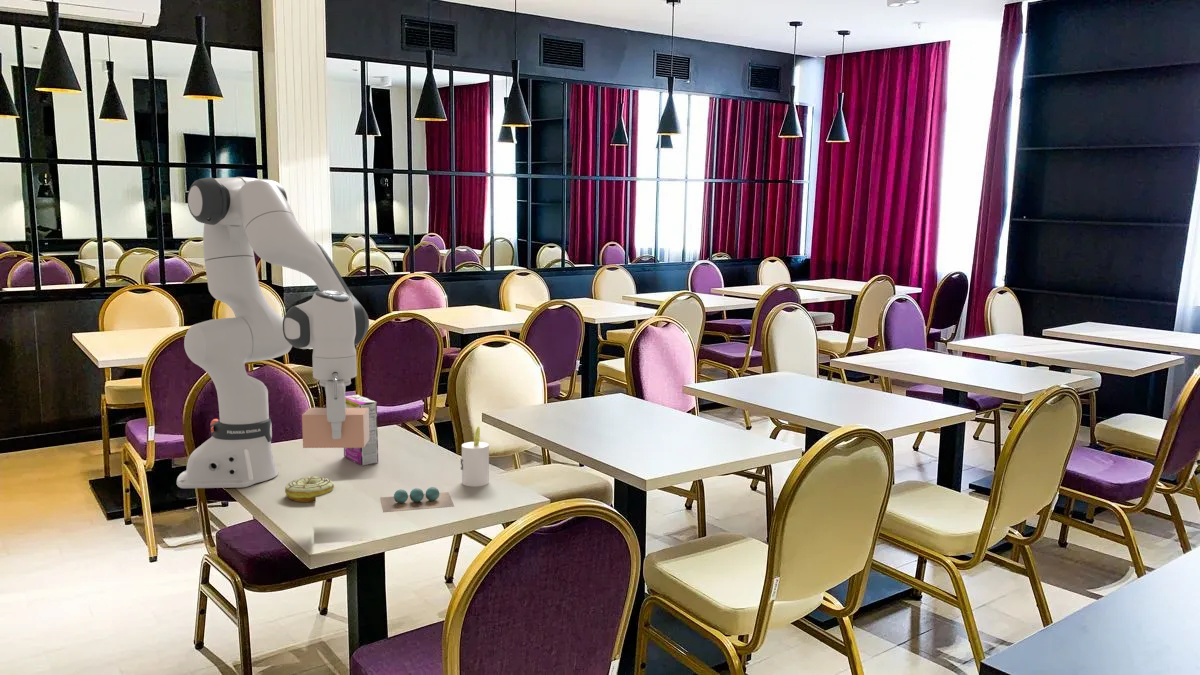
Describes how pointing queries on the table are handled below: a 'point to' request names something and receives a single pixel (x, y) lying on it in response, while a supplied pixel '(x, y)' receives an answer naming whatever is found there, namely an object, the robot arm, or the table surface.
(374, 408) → the candy bar box
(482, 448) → the candle
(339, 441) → the peach brick
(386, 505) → the marble board
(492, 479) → the table surface
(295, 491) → the decorated donut
